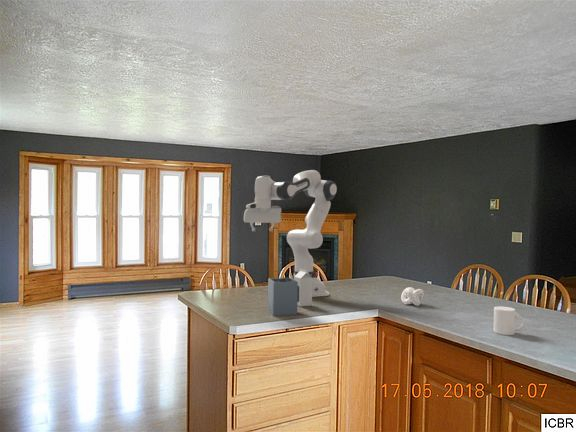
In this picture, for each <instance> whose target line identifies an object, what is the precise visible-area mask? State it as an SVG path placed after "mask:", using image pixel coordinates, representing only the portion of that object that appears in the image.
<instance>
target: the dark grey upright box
mask: <svg viewBox="0 0 576 432" xmlns="http://www.w3.org/2000/svg"><path fill="white" fill-rule="evenodd" d="M279 278H280V277H278V278H276V277H275V278H274V277H273V278H272V277H271V278H268V280H267V311H268V312H269V313H270V314H271V315H272V316H275V315H276V316H291V315H293V316H294V315H298V305H297V302H299V285H298V282H297V281H296V280H294V278H293V277H285V278H286V282H279Z"/></svg>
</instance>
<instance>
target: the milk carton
mask: <svg viewBox="0 0 576 432" xmlns="http://www.w3.org/2000/svg"><path fill="white" fill-rule="evenodd" d="M293 279H294V280H296V281H297V282H298V285H299V302H297V307H308V306H309V307H310V306H312V305H313V297H312V277H311V276H310V275H309V273H308V272H307V270H303V269H300V271H299V272H298V273H297V274H296V275H295V276H294V275H293Z"/></svg>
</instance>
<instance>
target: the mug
mask: <svg viewBox="0 0 576 432" xmlns="http://www.w3.org/2000/svg"><path fill="white" fill-rule="evenodd" d="M516 317H517V318H518V319H520V321H521V324H520V325H519V326H516ZM525 325H526V324H525V320H524V318H523V317H522V316H521V314H520V313H518V312H517V311H516V309H515V308H513V307H509V306H502V305H501V306H494V307H493V328H492V329H493V332H494V333H496V334H497V335H503V336H514V335H515V334H516V332H518V331H522V330H523V329H524V328H525Z"/></svg>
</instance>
